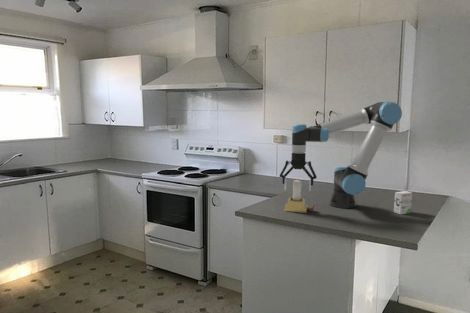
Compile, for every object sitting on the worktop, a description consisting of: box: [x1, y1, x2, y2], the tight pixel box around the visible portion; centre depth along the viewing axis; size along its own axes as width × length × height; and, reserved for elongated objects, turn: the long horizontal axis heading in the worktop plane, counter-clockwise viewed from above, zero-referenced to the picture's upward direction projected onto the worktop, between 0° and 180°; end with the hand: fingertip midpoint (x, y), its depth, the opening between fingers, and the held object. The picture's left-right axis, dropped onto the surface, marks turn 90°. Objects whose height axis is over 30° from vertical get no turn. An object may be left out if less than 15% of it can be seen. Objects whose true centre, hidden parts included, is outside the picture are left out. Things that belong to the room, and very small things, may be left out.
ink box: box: [393, 190, 413, 215], centre depth 208 cm, size 9×5×12 cm, turn 116°
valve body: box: [284, 196, 315, 214], centre depth 208 cm, size 16×9×6 cm, turn 76°
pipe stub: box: [292, 180, 302, 201], centre depth 207 cm, size 4×4×14 cm
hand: (297, 190), depth 207 cm, fingers open, 13 cm apart
